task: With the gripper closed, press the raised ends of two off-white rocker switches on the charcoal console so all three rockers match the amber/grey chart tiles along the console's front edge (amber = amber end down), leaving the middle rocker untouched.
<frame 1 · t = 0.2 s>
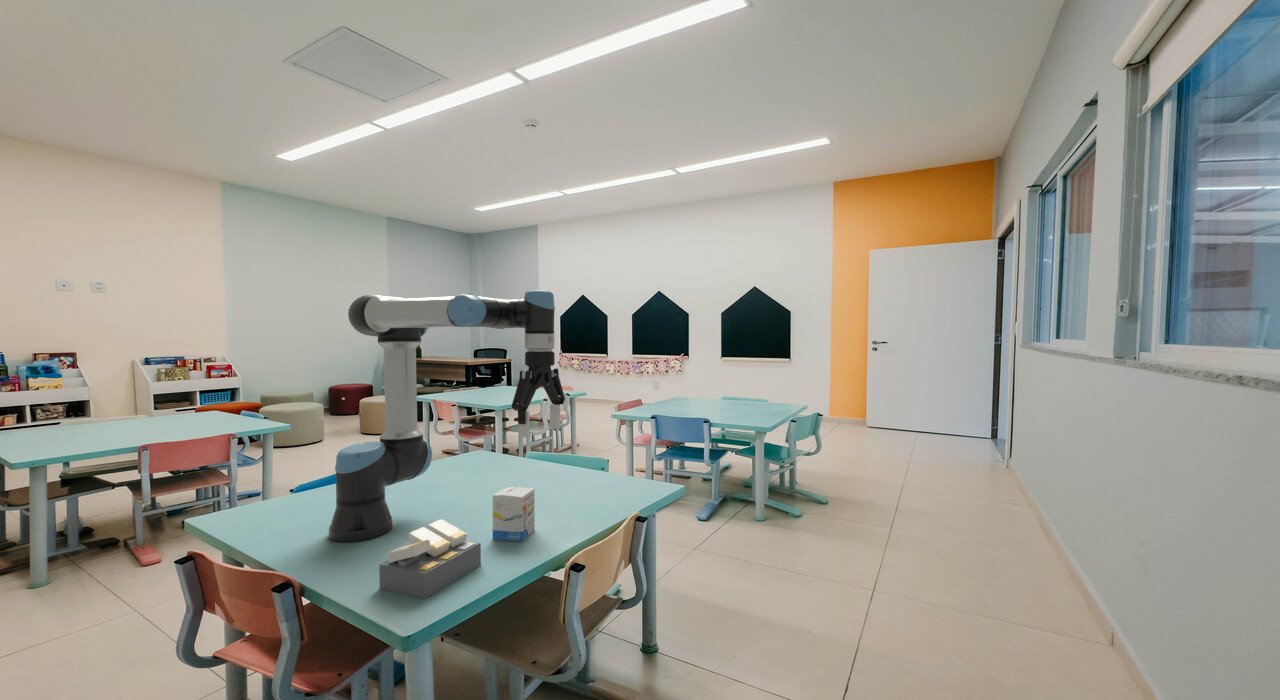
hand: (540, 432, 132), 28 cm above the table, fingers open, 13 cm apart
console: (432, 575, 111), on the table
ink box: (514, 535, 135), on the table
rocker a: (408, 550, 107), point 7 cm above the table, hinge at -18.0°
rocker c: (447, 532, 117), point 7 cm above the table, hinge at 18.0°
rocker b: (429, 541, 112), point 7 cm above the table, hinge at 18.0°
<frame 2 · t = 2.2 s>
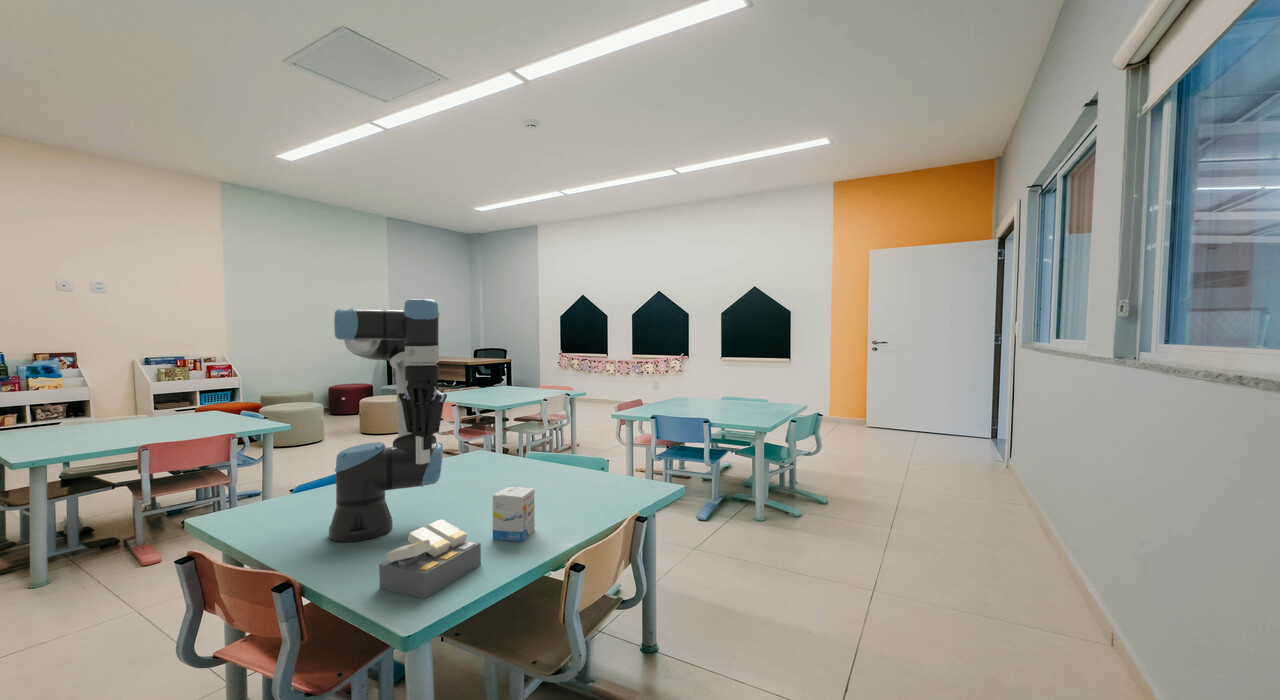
hand: (423, 462, 122), 22 cm above the table, fingers closed
nothing on the table moved.
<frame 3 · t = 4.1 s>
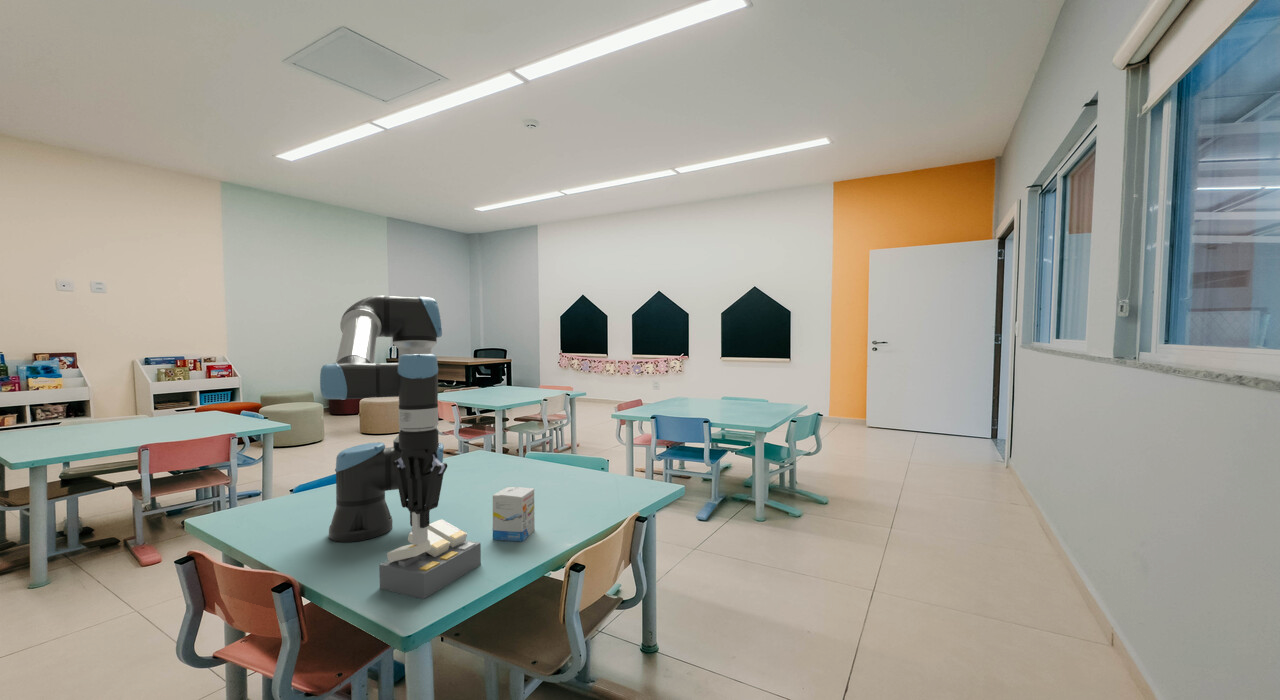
hand: (420, 542, 105), 10 cm above the table, fingers closed
rocker a: (408, 550, 107), point 7 cm above the table, hinge at -18.0°, touching gripper
everything else where it was.
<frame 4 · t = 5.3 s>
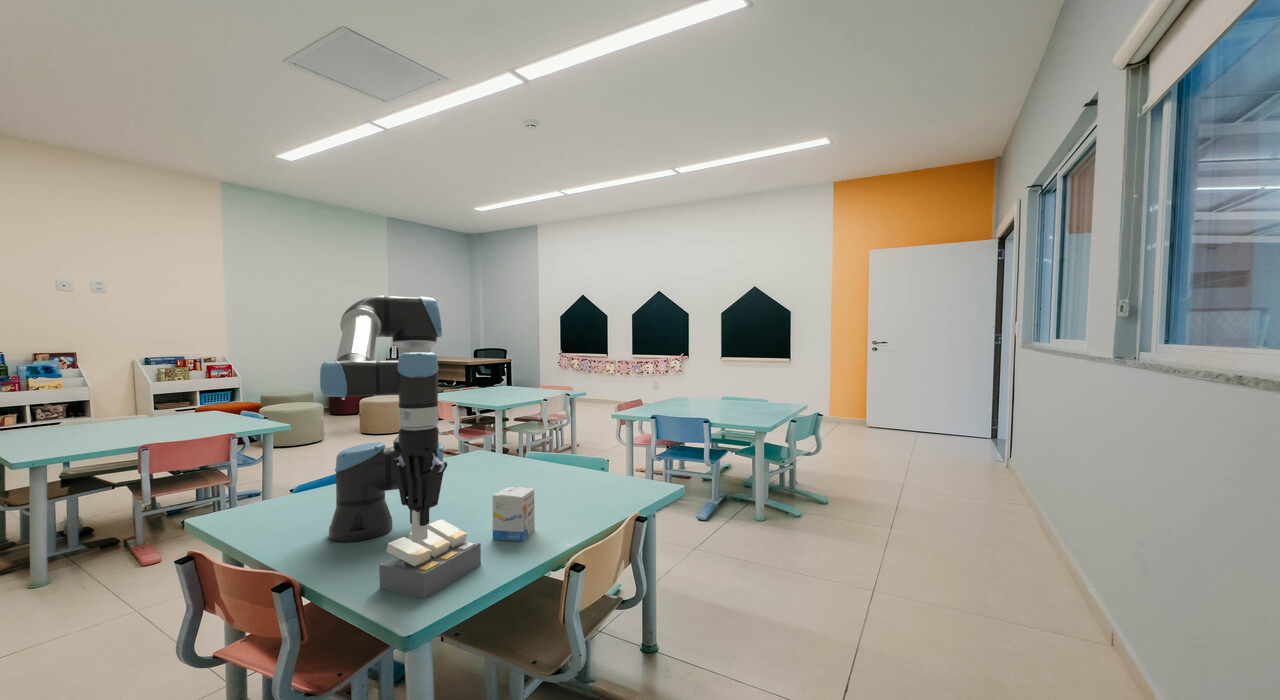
hand: (419, 539, 106), 10 cm above the table, fingers closed
rocker a: (409, 550, 107), point 7 cm above the table, hinge at 13.4°
everything else where it was.
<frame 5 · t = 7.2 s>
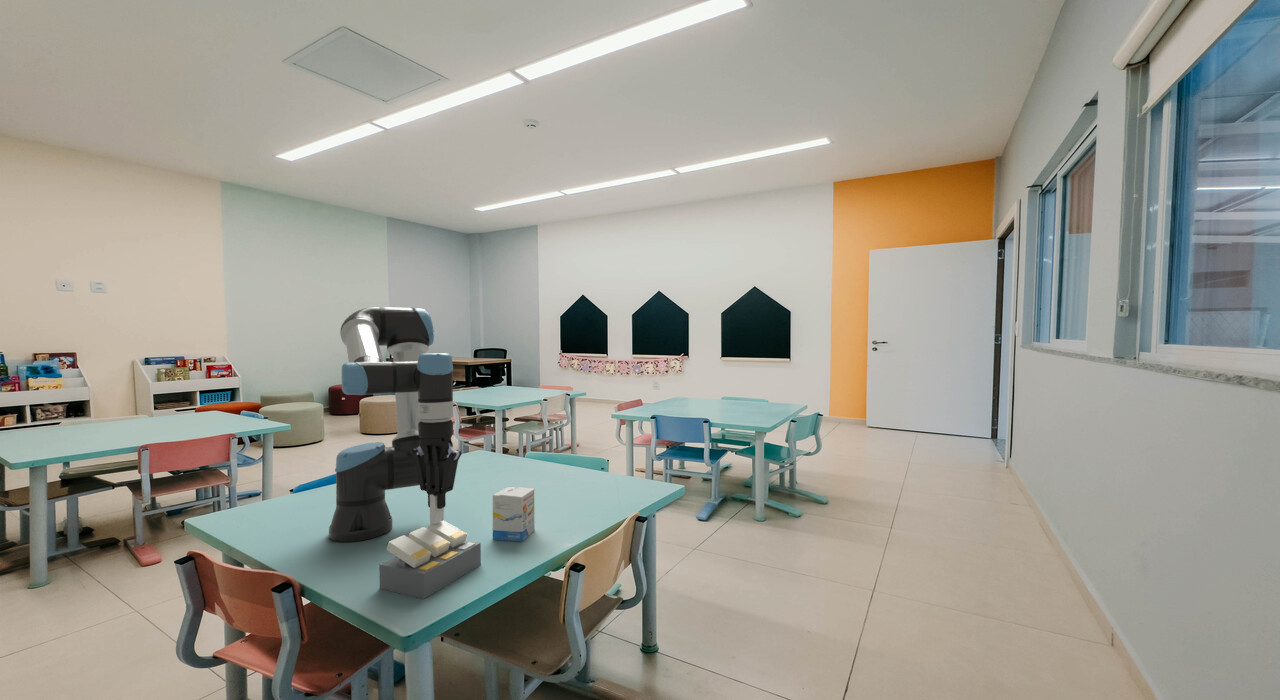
hand: (436, 521, 118), 10 cm above the table, fingers closed
rocker a: (409, 550, 107), point 7 cm above the table, hinge at 19.4°
rocker c: (447, 532, 117), point 7 cm above the table, hinge at 18.0°, touching gripper
everything else where it was.
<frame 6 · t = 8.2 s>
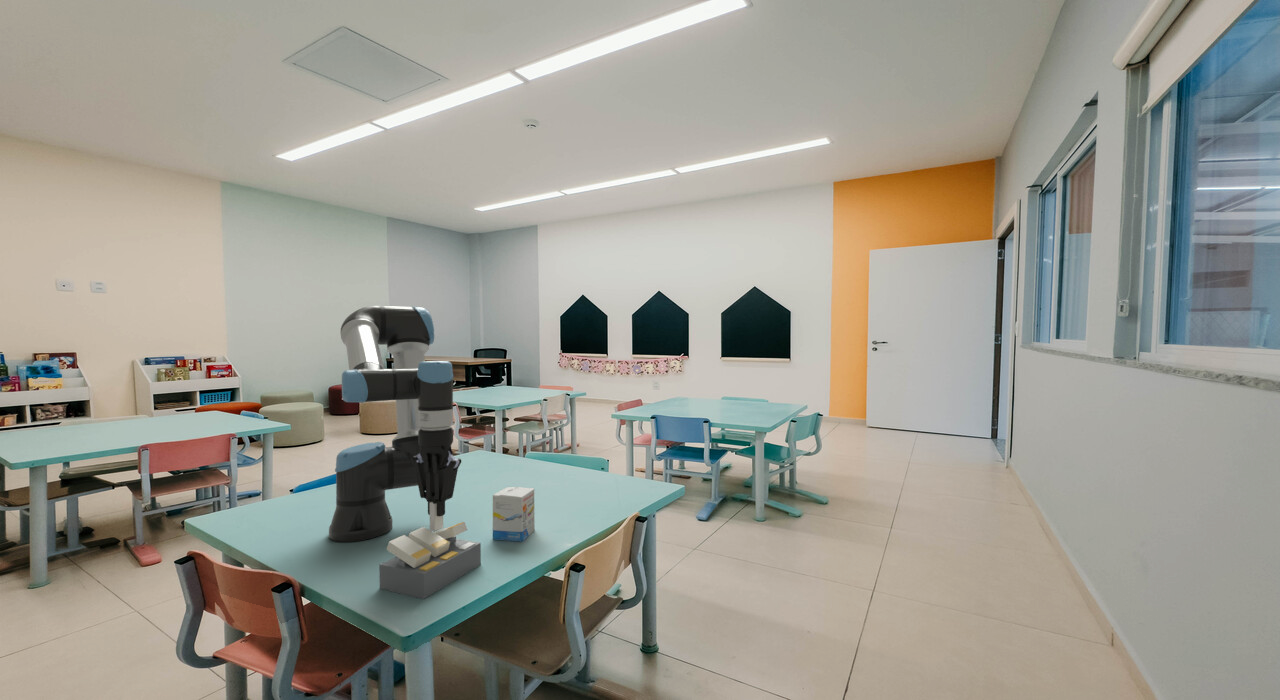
hand: (436, 529, 118), 8 cm above the table, fingers closed
rocker c: (447, 532, 117), point 7 cm above the table, hinge at -20.8°
everything else where it was.
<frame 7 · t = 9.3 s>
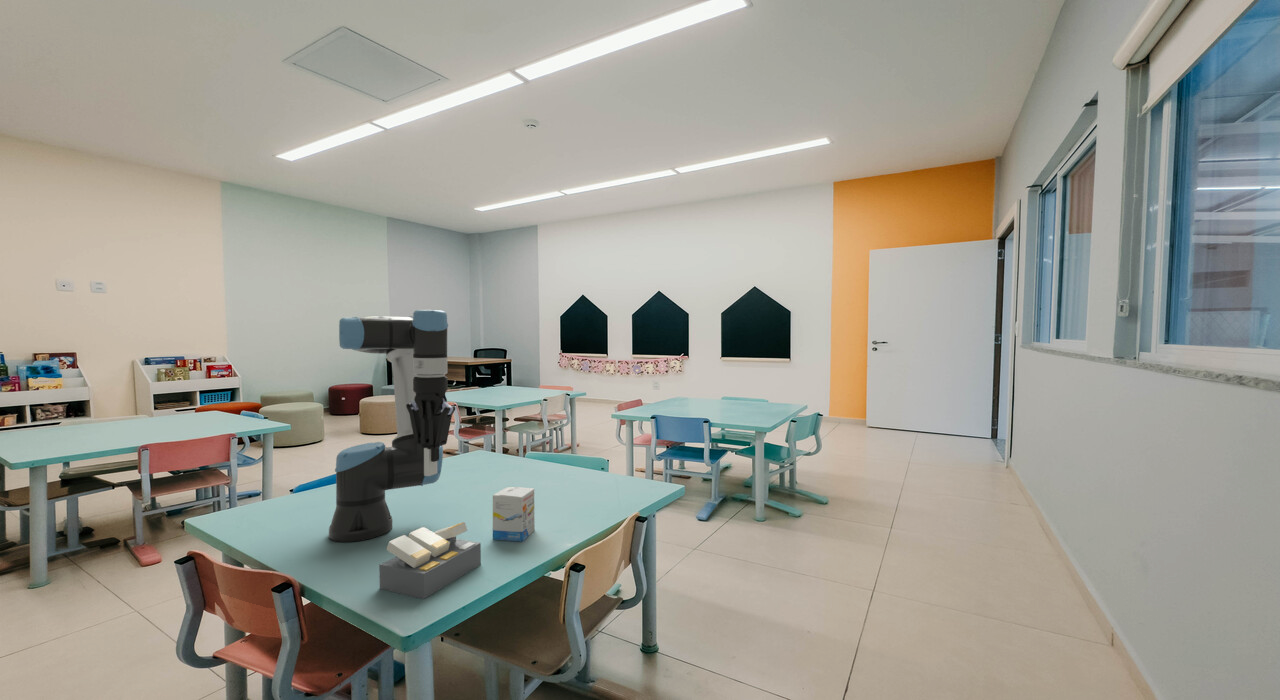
hand: (430, 474, 121), 20 cm above the table, fingers closed
rocker c: (447, 532, 117), point 7 cm above the table, hinge at -19.4°
everything else where it was.
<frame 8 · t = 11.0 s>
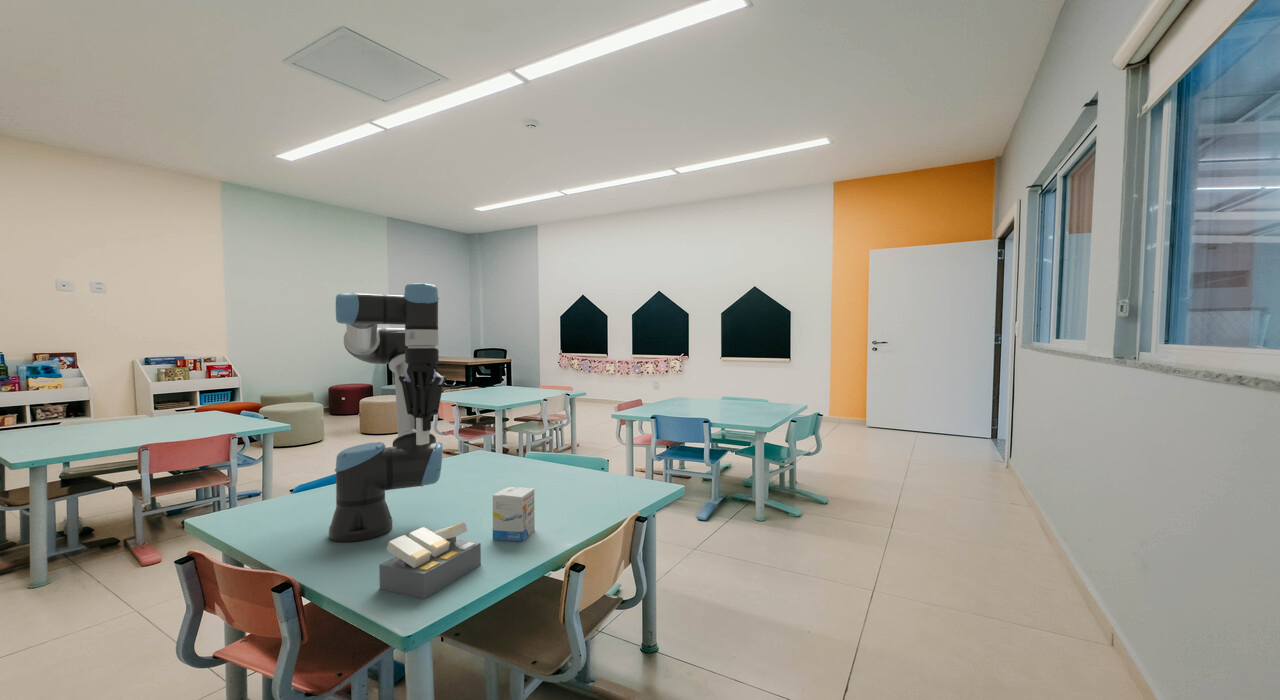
hand: (422, 443, 124), 26 cm above the table, fingers closed
rocker c: (447, 532, 117), point 7 cm above the table, hinge at -18.4°
everything else where it was.
at the end: rocker a at +20° (first picture: -18°); rocker b at +18° (first picture: +18°); rocker c at -18° (first picture: +18°) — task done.
